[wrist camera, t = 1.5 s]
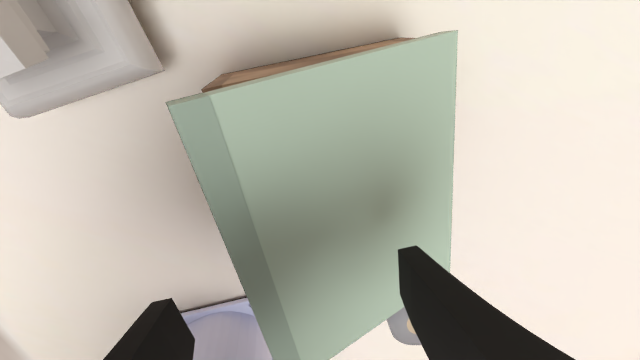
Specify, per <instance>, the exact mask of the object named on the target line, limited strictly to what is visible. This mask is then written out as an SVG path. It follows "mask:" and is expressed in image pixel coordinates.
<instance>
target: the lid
mask: <svg viewBox="0 0 640 360" xmlns="http://www.w3.org/2000/svg"><path fill="white" fill-rule="evenodd" d="M457 35H458V30H456V31H446V32H438V33H435V34H431V35H427V36H423V37H419V38H415V39H411V40H407V41H403V42H399V43H396V44H392V45H388V46H384V47H380V48H376V49H372V50H368V51H364V52H360V53H357V54H353V55H349V56H345V57H341V58H337V59H333V60H329V61H325V62H321V63H318V64H314V65H310V66H306V67H302V68H298V69H294V70H290V71H286V72H282V73H279V74H275V75H271V76H267V77H263V78H259V79H255V80H251V81H247V82H243V83H240V84H236V85H232V86H228V87H224V88H220V89H216V90H212V91H208V92H205V93H200V94H196V95H192V96H188V97H184V98H180V99H176V100H172V101H168V102H166V104H167V107H168V109H169V111H170V114H171V116H172V118H173V121H174V123H175V126H176V128H177V130H178V133H179V135H180V138H181V140H182V142H183V145H184V147H185V150H186V152H187V154H188V157H189V159H190V162H191V164H192V166H193V169H194V171H195V174H196V176H197V178H198V181H199V183H200V186H201V188H202V190H203V193H204V195H205V198H206V200H207V202H208V205H209V207H210V210H211V212H212V214H213V217H214V219H215V222H216V224H217V226H218V229H219V231H220V234H221V236H222V238H223V241H224V243H225V246H226V248H227V250H228V253H229V255H230V258H231V260H232V262H233V265H234V267H235V270H236V272H237V274H238V277H239V279H240V282H241V284H242V286H243V289H244V291H245V294H246V296H247V298H248V301H249V303H250V306H251V308H252V310H253V313H254V315H255V318H256V320H257V322H258V325H259V327H260V330H261V332H262V334H263V337H264V339H265V342H266V344H267V346H268V349H269V351H270V354H271V356H272V358H273V360H329V359H331V358H332V357H334V356H335V355H337V354H338V353H339V352H341V351H342V350H344V349H345V348H346V347H348V346H349V345H351V344H352V343H354V342H355V341H356V340H358V339H359V338H361V337H362V336H364V335H365V334H366V333H368V332H369V331H371V330H372V329H373V328H375V327H376V326H378V325H379V324H381V323H382V322H383V321H385V320H386V319H388V318H389V317H391V316H392V315H393V314H395V313H396V312H398V311H399V310H400V309H402V308H403V307H404V304H403V301H402V299H401V296H400V289H399V266H398V249H402V248H406V247H411V246H415V245H417V246H418V247H420V248H421V249H422V250H423V251H424V252H425V253H427V254H428V255H429V256H430V257H431V258H432V259H434V260H435V261H436V262H437V263H438V264H439V265H441V266H442V267H443V268H444V269H445V270H447V271H448V272H449V273H450V256H451V225H452V193H453V162H454V130H455V99H456V67H457Z"/></svg>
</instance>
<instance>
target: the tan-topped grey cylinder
mask: <svg viewBox="0 0 640 360" xmlns="http://www.w3.org/2000/svg"><path fill="white" fill-rule="evenodd" d="M386 320H387V322H388V325H389V327H390V330H391V332H392V335H393V336H394V338H395V339H396V340H398V341H399V342H401V343H404V344H408V345H422V344H421V342H420V341H419V339H418V337H417V335H416V333H415V331H414V329H413V327H412V325H411V322H410V319H409V317H408V314H407V312H406V309H405V307H403V308H402V309H400V310H399V311H398V312H396V313H395V314H393V315H392V316H391V317H389V318H388V319H386Z"/></svg>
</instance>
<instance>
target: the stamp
mask: <svg viewBox="0 0 640 360" xmlns="http://www.w3.org/2000/svg"><path fill="white" fill-rule="evenodd" d="M162 71H165V70H164V68H163V66H162V64H161V63H160V61H159V59H158V57H157V55H156V53H155V51H154V49H153V47H152V45H151V43H150V42H149V40H148V38H147V36H146V34H145V32H144V30H143V28H142V26H141V24H140V22H139V21H138V19H137V17H136V15H135V13H134V11H133V9H132V7H131V5H130V3H129V1H128V0H0V104H1V105H2V106H3V108H4V109H5V110H6V111H7V112H8V114H9V115H10V116H13V117H16V118H19V119H20V118H26V117H31V116H34V115H37V114H40V113H43V112H46V111H49V110H52V109H55V108H58V107H61V106H63V105H66V104H69V103H72V102H75V101H78V100H81V99H84V98H87V97H90V96H92V95H95V94H98V93H101V92H104V91H107V90H110V89H113V88H116V87H119V86H121V85H124V84H127V83H130V82H133V81H136V80H139V79H142V78H145V77H148V76H150V75H153V74H156V73H159V72H162Z"/></svg>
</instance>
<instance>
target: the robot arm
mask: <svg viewBox="0 0 640 360" xmlns="http://www.w3.org/2000/svg"><path fill="white" fill-rule="evenodd" d="M398 266H399V289H400V296H401V299H402V301H403V304H404V307H405V309H406V312H407V314H408V317H409V319H410V322H411V325H412V327H413V329H414V331H415V333H416V335H417V337H418V339H419V341H420V342H421V344H422V346H423V348H424V350H425V352H426V354H427V356H428V358H429V360H575V359H574V358H572V357H570V356H568V355H567V354H565V353H563V352H562V351H560V350H558V349H557V348H555V347H554V346H552V345H550V344H549V343H547V342H546V341H544V340H542V339H541V338H539V337H538V336H536V335H534V334H533V333H531V332H530V331H528V330H527V329H525V328H524V327H522V326H521V325H519V324H518V323H516V322H515V321H513V320H512V319H510V318H509V317H508V316H506V315H505V314H503V313H502V312H500V311H499V310H498V309H496V308H495V307H493V306H492V305H491V304H489V303H488V302H487V301H485V300H484V299H482V298H481V297H480V296H478V295H477V294H476V293H475V292H473V291H472V290H471V289H469V288H468V287H467V286H465V285H464V284H463V283H462V282H460V281H459V280H458V279H457V278H455V277H454V276H453V275H452V274H450V273H449V272H448V271H447V270H445V269H444V268H443V267H442V266H441V265H439V264H438V263H437V262H436V261H435V260H434V259H432V258H431V257H430V256H429V255H428V254H427V253H425V252H424V251H423V250H422V249H421V248H420V247H418V246H417V245H415V246H411V247H406V248H402V249H398ZM103 360H273V358H272V356H271V354H270V351H269V349H268V346H267V344H266V342H265V339H264V337H263V334H262V332H261V330H260V327H259V325H258V322H257V320H256V318H255V315H254V313H253V310H252V308H251V306H250V303H249V301H248V298H243V299H239V300H235V301H231V302H227V303H222V304H218V305H214V306H210V307H206V308H201V309H197V310H193V311H189V312H185V313H181V314H180V312H179V310H178V308H177V307H176V305H175V303H174V301H173V300H172V298H170V299H165V300H161V301H156V302H152V303H151V304H150V305H149V306H148V307H147V308H146V310H145V311H144V312H143V313H142V314H141V315H140V317H139V318H138V319H137V320H136V321H135V322H134V324H133V325H132V326H131V327H130V328H129V330H128V331H127V332H126V333H125V334H124V336H123V337H122V338H121V339H120V340H119V342H118V343H117V344H116V345H115V346H114V348H113V349H112V350H111V351H110V352H109V353H108V355H107V356H106V357H105V358H104V359H103Z"/></svg>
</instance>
